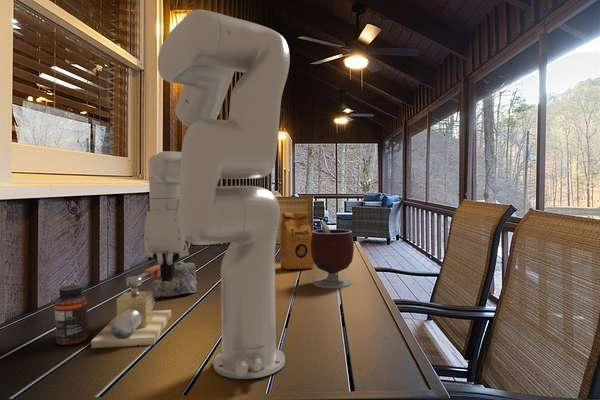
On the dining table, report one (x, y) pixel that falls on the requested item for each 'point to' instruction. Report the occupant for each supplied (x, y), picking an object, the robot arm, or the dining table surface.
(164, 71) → the robot arm
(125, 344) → the board
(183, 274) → the mineral rock
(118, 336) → the valve body
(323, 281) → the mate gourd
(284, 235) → the coffee package
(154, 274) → the lever
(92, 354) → the dining table surface
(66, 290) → the supplement bottle
